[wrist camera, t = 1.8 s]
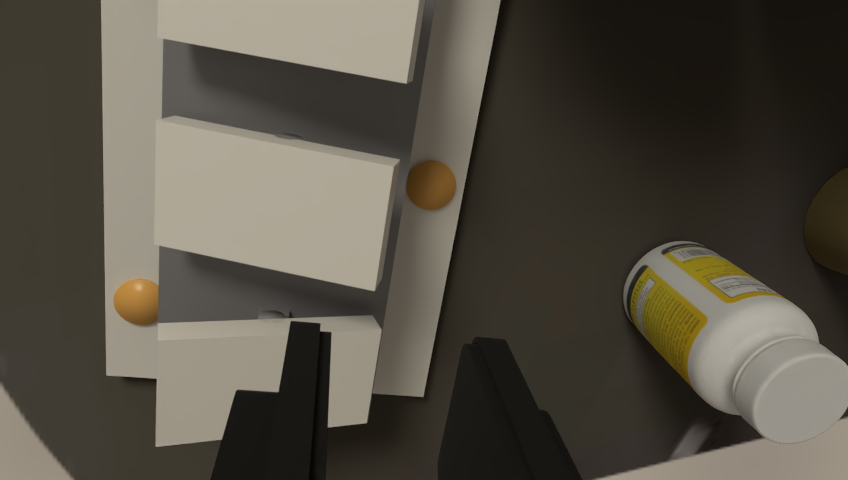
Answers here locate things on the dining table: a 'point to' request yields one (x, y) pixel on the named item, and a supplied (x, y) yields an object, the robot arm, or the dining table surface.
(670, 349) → the supplement bottle
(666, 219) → the dining table surface
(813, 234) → the cork
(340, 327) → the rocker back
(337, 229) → the rocker middle
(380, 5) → the rocker front
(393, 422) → the dining table surface
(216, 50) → the switch unit
